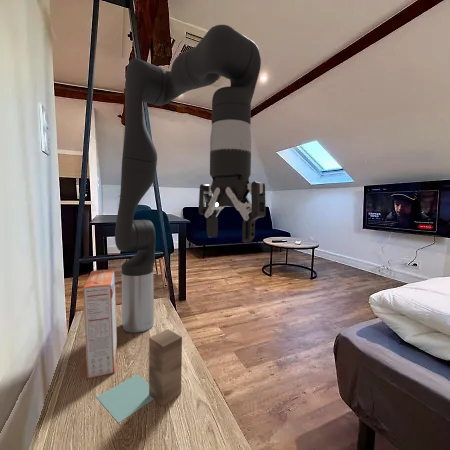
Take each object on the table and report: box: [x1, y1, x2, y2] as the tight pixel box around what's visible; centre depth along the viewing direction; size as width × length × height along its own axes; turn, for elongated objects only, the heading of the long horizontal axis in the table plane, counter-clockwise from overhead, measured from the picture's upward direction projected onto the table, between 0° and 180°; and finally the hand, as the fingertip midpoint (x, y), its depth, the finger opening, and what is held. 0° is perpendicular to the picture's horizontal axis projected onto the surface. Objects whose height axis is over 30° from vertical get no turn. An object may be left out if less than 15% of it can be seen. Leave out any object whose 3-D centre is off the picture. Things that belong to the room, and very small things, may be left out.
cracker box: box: [82, 268, 118, 380], centre depth 62 cm, size 14×6×21 cm, turn 21°
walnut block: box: [148, 329, 183, 407], centre depth 51 cm, size 4×4×12 cm
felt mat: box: [96, 373, 155, 424], centre depth 51 cm, size 9×9×1 cm
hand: (228, 239), depth 48 cm, fingers open, 8 cm apart
